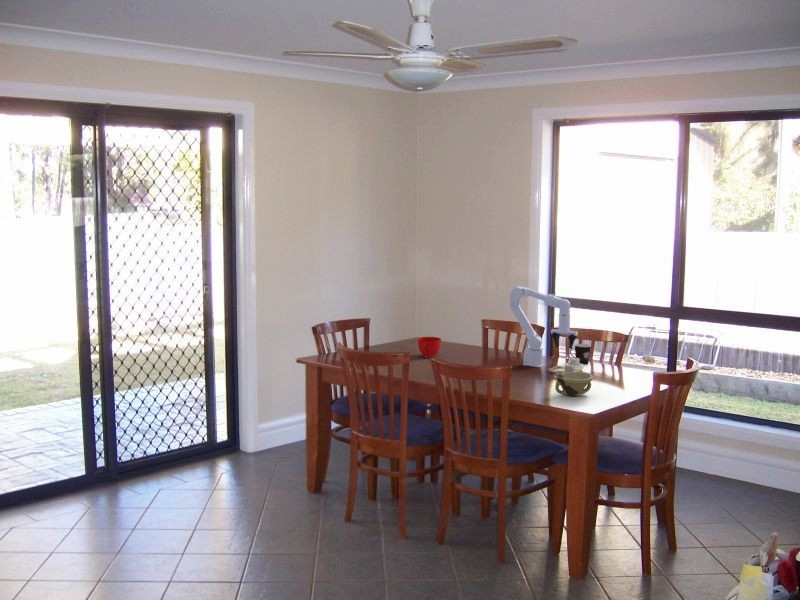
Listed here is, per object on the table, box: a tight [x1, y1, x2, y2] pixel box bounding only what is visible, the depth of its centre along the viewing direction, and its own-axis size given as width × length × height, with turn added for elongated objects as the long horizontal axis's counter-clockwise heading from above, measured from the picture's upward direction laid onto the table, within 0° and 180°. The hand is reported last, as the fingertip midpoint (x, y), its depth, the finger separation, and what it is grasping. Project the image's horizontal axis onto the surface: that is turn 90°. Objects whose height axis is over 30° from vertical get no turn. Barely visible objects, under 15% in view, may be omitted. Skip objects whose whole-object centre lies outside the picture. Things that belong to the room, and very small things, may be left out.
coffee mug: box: [569, 343, 592, 366], centre depth 435 cm, size 12×9×10 cm
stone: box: [564, 364, 574, 372], centre depth 410 cm, size 4×3×4 cm
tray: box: [547, 365, 583, 374], centre depth 414 cm, size 14×11×2 cm
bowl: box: [553, 371, 594, 397], centre depth 369 cm, size 18×18×10 cm
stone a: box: [568, 356, 580, 366], centre depth 422 cm, size 4×4×5 cm
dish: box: [565, 362, 585, 370], centre depth 423 cm, size 9×9×2 cm
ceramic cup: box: [417, 336, 442, 358], centre depth 449 cm, size 13×17×10 cm
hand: (564, 347), depth 425 cm, fingers open, 7 cm apart
